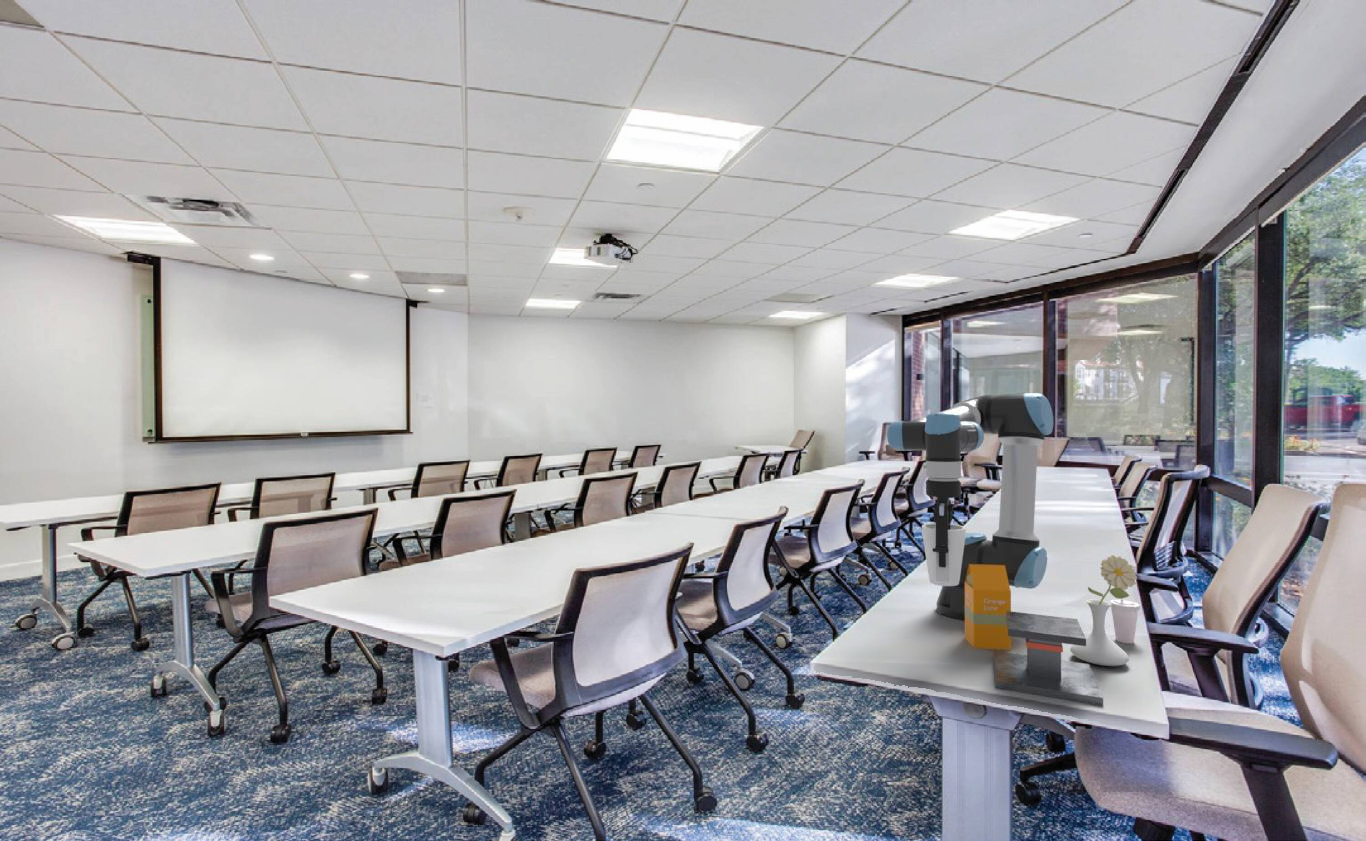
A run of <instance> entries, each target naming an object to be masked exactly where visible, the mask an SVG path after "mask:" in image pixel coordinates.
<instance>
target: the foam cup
mask: <svg viewBox="0 0 1366 841" xmlns="http://www.w3.org/2000/svg"><path fill="white" fill-rule="evenodd" d="M966 533H967V528H966V527H965V526H964V525H959V524H953V523H951V524H950V530H948V549H949V551H948V552H949V582H945V581H936V552H933V548H935V546H936V523H935V522H933V523H930V522H929V523H924V524H922V525H921V536H922V539H923V540H922V541H923V546H924V554H925V555H924V556H925V560H926V567H927V574H928V575H927V576H928V580H929V583H930V584H933V585H937V586H941V587H942V586H956V585H958V584H959V581H960V574H961V566H962V558H963V551H964V543H965V539H966ZM939 546H945V545H939Z"/></svg>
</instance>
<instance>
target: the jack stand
mask: <svg viewBox="0 0 1366 841" xmlns="http://www.w3.org/2000/svg"><path fill="white" fill-rule="evenodd" d="M1006 620H1007V630H1008V636H1011V638H1013V637H1015V638H1020V639H1025V642H1026V643H1025V645H1026V654H1019V653H1012V652H1005V651H999V650H994V651H993V652H994V656H993V657H994V683H995V684H994V685H995V689H1000V690H1007V691H1012V692H1019V693H1024V694H1031V695H1037V696H1043V697H1049V698H1054V699H1060V700H1061V699H1062V700H1067V701H1074V702H1079V703H1085V704H1092V705H1096V706H1097V705H1098V706H1104V696H1103V694H1102V691H1101V690H1100V687H1099V685H1098V682H1097V680H1096V678H1095V675H1094V673H1093V671H1092V667H1091V666H1090V663H1082V662H1075V661H1068V660H1063V659H1062V653H1064V650H1063V649H1064V647H1063V644H1066V645H1080V646H1086V638H1085V637H1086V636H1085V634H1084V631H1083V629H1082V627H1081V624H1080V622H1079V621H1078V618H1072V617H1071V618H1070V617H1061V616H1053V615H1045V614H1044V615H1043V614H1035V613H1028V612H1018V611H1012V610H1011V611H1006Z"/></svg>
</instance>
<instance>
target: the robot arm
mask: <svg viewBox="0 0 1366 841" xmlns="http://www.w3.org/2000/svg"><path fill="white" fill-rule="evenodd" d="M1053 428H1054V413H1053V409H1052V407H1051V403H1050V401H1049V400H1048V398H1047V397H1046V396H1045V395H1044V394H1042V393H1034V392H1033V393H1030V392H1021V393H1019V392H1018V393H1005V394H1004V393H1001V394H984V395H980V396H976V397H973V398H969V399H967V400H963V401H959V402H957V403H954V404H953V405H952V406H951V407H950V408H949V409H945V410H942V411H939V412H936V413H933V412H931V413H928V414H927V415H926V416H923V417H921V418H918V419H914V420H909V421H904V420H901V421H893V422H892V423H890V425H889V426H888V428H887V432H886V434H887V436H886V437H887V439H886V440H887V443H888V445H889V447H890V448H891V449H893V450H895V451H896V450H897V451H903V452H905V451H917V452H918V451H925V464H923V465H922V469H926V470H925V477H926V478H927V480H926V481H925V494H926V495H927V496H928V497H930V498H931V497H932V498H937V500H936V502H934V504H933V512H934V523H936V546H935V548H933V552H936V581H945V582H949V552H948V551H949V549H948V530H950V524H952V521H953V511H954V504H953V503H952V501H951V499H953V498H959V497H961V496H962V482H961V481H960V480H959V479H961V478H962V460H961V453H970V452H973V451H976V450H977V449H978V448H980V447H981V446H982V444H983V443H984V439H985V434H986V435H987V434H988V435H989V434H990V435H997V440H998V441H999V442H1000V443H1001V444H1002V446H1003V448H1002V461H1001V462H1002V463H1001V465H1002V466H1001V484H1000V500H999V501H1000V503H999V518H998V519H999V520H998V529H997V530H996V531H995V532H994V533H992V538H991V539H992V540H988V537H987V535H986V534H984V533H981V532H980V533H979V532H966V539H965V543H964V551H963V558H962V566H961V574H960V581H959V584H958V585H956V586H941V589H940V592H939V595H938V598H937V601H936V611H937V612H938V613H939V614H941V615H944V616H945V617H948V618H952V619H957V620H963V621H965V579H966V575H967V571H968V567H969V564H984V565H1005V568H1006V573H1007V577H1008V582H1009V586H1010V587H1015V588H1022V589H1028V590H1030V589H1032V590H1033V589H1035V588H1037V587H1038V586H1040V583H1042V581H1043V580H1044V576H1045V574H1046V570H1047V564H1048V553H1047V550H1046V548H1045V547H1043V546H1040V543H1041V542H1040V538H1038V536H1037V535H1036V534H1035V531H1034V529H1035V512H1036V492H1037V490H1036V489H1037V488H1036V487H1037V473H1038V471H1037V468H1038V453H1039V452H1038V450H1039V447H1040V446H1041V445H1043V443H1045V436H1048V435H1050V434H1052V432H1053ZM950 498H951V499H950ZM939 545H945V546H939Z"/></svg>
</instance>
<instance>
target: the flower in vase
mask: <svg viewBox="0 0 1366 841" xmlns="http://www.w3.org/2000/svg"><path fill="white" fill-rule="evenodd" d="M1100 565H1101V567H1100V572H1101V573H1100V576H1101V577H1103V579H1104V580H1105V581H1106V582H1107V584H1108V589H1107V590H1106V591H1105V593H1104V594H1103V593H1102V592H1099V591H1096V590H1094V589H1092V588H1091V587H1089V586H1088V587H1087V590H1088V592H1089V593H1091V594H1093V595H1096V596H1099V597H1102V598H1101V599H1096V598H1095V599H1092V598H1091V599H1090V598H1089V599H1086V600H1085V602H1086V604H1087V605H1088V606H1089V608H1090V611H1091V616H1092V631H1091V633H1090V634H1088V635H1087V636H1085V638H1086V646H1080V645H1073V644H1071V647H1070V652H1071V654H1072V655H1073V656H1074V657H1076V658H1077V659H1080V660H1082V661H1084V662H1087V663H1088V664H1090V663H1091V664H1094V665H1099V666H1103V667H1106V666H1107V667H1118V666H1123V665H1126V664H1127V663H1128V662H1129V661H1130V658H1129V656H1128V653H1126V652H1125V651H1124V649H1122V648H1121V647H1120V646H1119V645H1118V644H1117V643H1115V642H1114V641H1113V640H1112V639H1111V638H1110V637H1109V636H1108V635H1107V633H1106V630H1105V627H1106V626H1105V624H1106V622H1105V620H1106V614H1107V611H1108V609H1109V608H1111V605H1112V604H1111V603H1110V601H1107V600H1106V601H1105V600H1104V599H1105V598H1106V596H1107V595H1108V594H1109V593H1110V595H1112V596H1113V597H1114V598H1115V599H1117V600H1121V598H1123V599H1125V598H1128V597H1130V595H1129V593H1128V592H1127V591H1126V590H1128V588H1133V586H1135V585H1136V584H1137V583H1136V580H1137V579H1138V576H1137V572H1136V570H1135V569H1134V567H1133V565H1132V564H1129V561H1128V560H1127V559H1126V558H1122V557H1121V556H1115V555H1110V556H1108V557H1107V559H1106V558H1104V559H1102V560H1101V563H1100ZM1111 587H1113V588H1111Z"/></svg>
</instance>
